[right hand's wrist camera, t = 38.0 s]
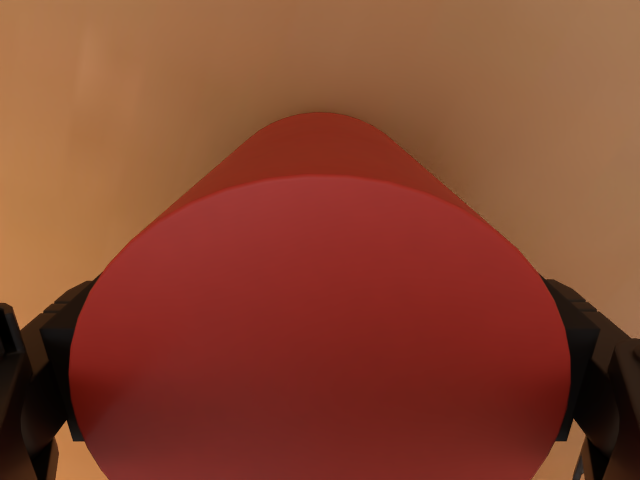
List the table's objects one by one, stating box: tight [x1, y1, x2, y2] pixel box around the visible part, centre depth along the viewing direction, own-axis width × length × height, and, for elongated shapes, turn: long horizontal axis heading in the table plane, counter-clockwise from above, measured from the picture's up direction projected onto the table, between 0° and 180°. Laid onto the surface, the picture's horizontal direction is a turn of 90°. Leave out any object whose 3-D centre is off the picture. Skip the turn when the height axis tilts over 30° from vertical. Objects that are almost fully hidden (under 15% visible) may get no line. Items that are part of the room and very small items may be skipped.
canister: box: [68, 112, 571, 480], centre depth 12 cm, size 9×9×10 cm
